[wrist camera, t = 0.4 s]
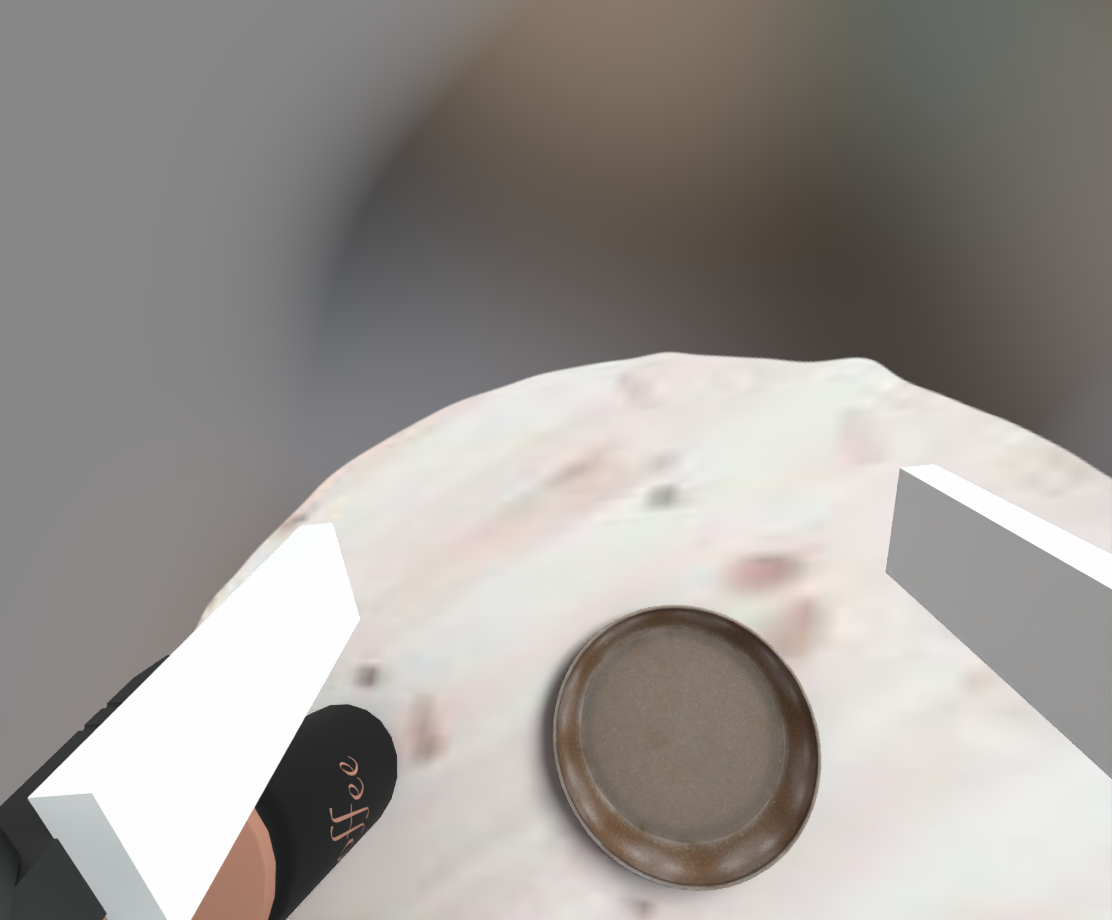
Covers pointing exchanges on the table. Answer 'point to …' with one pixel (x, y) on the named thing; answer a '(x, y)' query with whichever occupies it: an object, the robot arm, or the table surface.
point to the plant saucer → (686, 747)
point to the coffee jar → (306, 816)
